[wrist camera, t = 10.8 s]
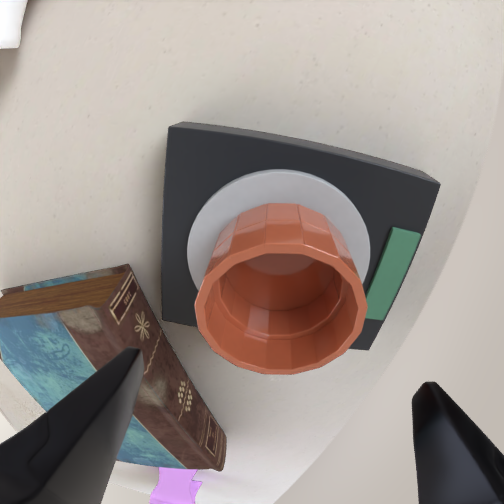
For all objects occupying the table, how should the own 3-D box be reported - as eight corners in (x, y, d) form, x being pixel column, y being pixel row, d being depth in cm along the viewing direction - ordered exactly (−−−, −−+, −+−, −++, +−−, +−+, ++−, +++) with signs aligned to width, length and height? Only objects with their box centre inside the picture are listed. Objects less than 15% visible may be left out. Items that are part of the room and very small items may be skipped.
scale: (423, 171, 16) (446, 187, 13) (362, 327, 22) (370, 357, 19) (181, 121, 16) (163, 127, 13) (171, 298, 22) (159, 326, 19)
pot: (370, 263, 16) (396, 319, 12) (277, 331, 18) (277, 392, 14) (282, 169, 14) (285, 204, 10) (188, 260, 16) (163, 315, 12)
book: (228, 434, 31) (223, 472, 26) (105, 426, 34) (93, 455, 29) (134, 262, 20) (102, 307, 16) (0, 290, 23) (-28, 320, 19)
